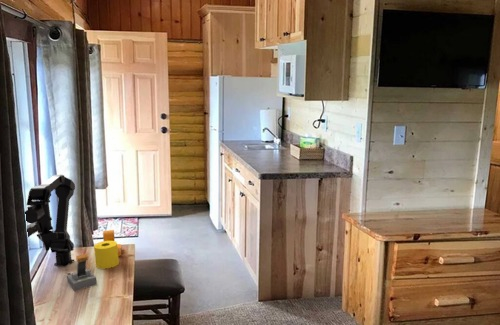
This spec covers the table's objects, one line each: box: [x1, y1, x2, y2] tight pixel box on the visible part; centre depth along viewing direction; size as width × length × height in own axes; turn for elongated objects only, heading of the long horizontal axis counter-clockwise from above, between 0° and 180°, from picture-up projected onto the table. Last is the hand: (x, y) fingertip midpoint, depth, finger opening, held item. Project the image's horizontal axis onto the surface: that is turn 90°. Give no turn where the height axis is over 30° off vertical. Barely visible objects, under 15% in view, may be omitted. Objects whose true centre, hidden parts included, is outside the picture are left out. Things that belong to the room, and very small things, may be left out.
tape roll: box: [93, 240, 120, 270], centre depth 206 cm, size 10×10×9 cm
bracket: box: [102, 229, 122, 257], centre depth 218 cm, size 11×7×12 cm, turn 14°
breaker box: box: [66, 268, 98, 292], centre depth 188 cm, size 10×9×5 cm
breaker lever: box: [75, 253, 89, 277], centre depth 185 cm, size 2×4×11 cm, turn 128°
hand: (47, 250), depth 194 cm, fingers closed
